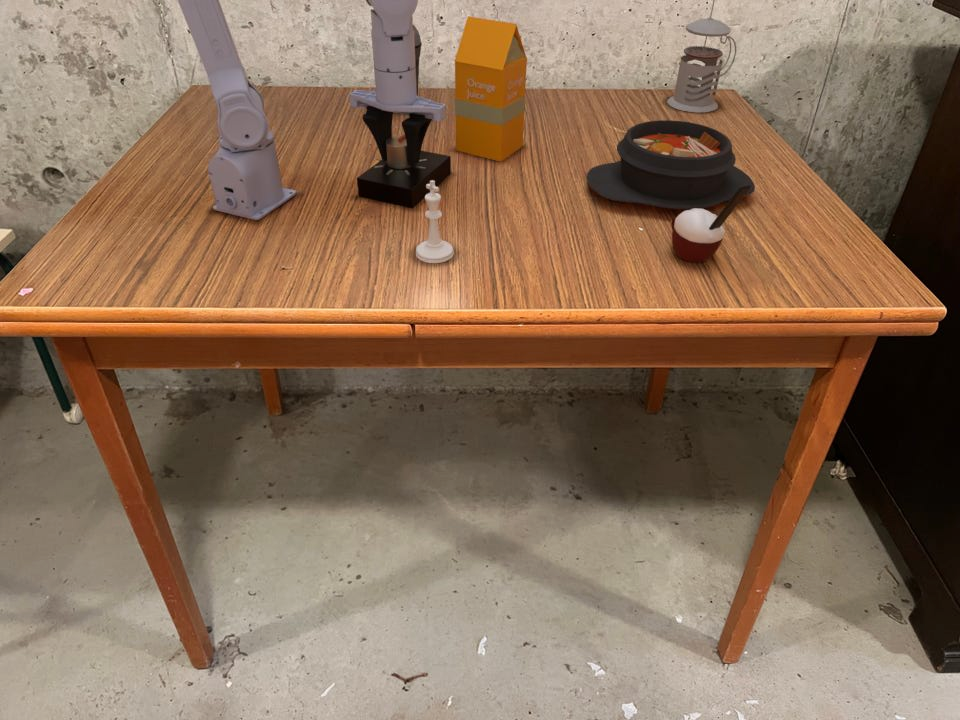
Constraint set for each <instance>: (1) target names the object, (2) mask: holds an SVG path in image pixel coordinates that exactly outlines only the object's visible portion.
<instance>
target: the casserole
mask: <svg viewBox="0 0 960 720" xmlns="http://www.w3.org/2000/svg"><path fill="white" fill-rule="evenodd" d="M616 152H617V154H618V156H619V158H620V160H618V161H614V162H609V163H602V164H599V165H595V166H593V167H591V168H590V169H589V170H588V172H587V174H586V181H587V183H588V185H589V187H590V188H591V189H592V190H593V191H594V192H596V193H597V194H598V195H600V196H602V197H604V198H606V199H607V200H611V201H615V202H621V203H628V204H629V203H630V204H642V205H646V206H653V207H657V208H664V209H672V210H691V209H694V208H698V209H704V208H709V207H713V206H717V205H719V204H722V203H725V202H727V201H730V199H731V198H732V197H733V195H734V194H735V193H736V191H737V190H738V189H739V187H741V186H745V185H750V186H751V187H750V189H749V190H748V192H747V193H746V194H745V196H750V195H751V194H753V193H754V192H755V189H756V186H755V183H754V181H753V180H752V178H751V177H750V176H749V175H748V174H747V173H746V172H744V171H743V170H742V169H740V168H738V167H737V166H735V164H736V161H737V158H736V154H735V153H734V151H733V145H732V141H731V140H730V138H729V137H728V136H727V135H726V134H724V133H722V132H721V131H719V130H717V129H715V128H712V127H710V126H706V125H703V124H700V123H694V122H691V121H683V120H672V119H671V120H663V119H661V120H650V121H644V122H640V123H637V124H635V125H632V126H631V127H630V128H628V130H627V131H626V132H625V134H624V137H623V138H622V139H621V140H619V142H618V143H617V145H616ZM745 196H744V197H745Z"/></svg>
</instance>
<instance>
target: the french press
mask: <svg viewBox="0 0 960 720" xmlns="http://www.w3.org/2000/svg"><path fill="white" fill-rule="evenodd" d="M715 1H716V0H713V1H712V5H711V10H710V15H709V17H707V18H699V19H696V20H693V21H691V22H690V23H688V24H686V26H685V30H686V31H687V32H688V33H690V34H693V35H696V36H700V37H701V36H702V37H705V40H704V45H701V46H700V45H693V46H687V47H686V48H684V49H683V54H684V55H682V56H680V61H679V66H678V71H677V76H676V82H675V87H674V92H673V95H672V96H670V97H669V98H668V99H667V101H666V102H667V104H668V105H669V106H670V107H672V108H674V109H676V110H678V111H679V110H680V111H683V112H688V113H689V112H690V113H709V112H714V111H716V110H718V108H719V104H718V102H717V101H716V100H715V98H716V93H717V89H718V84H719V79H720V78H721V77H723V76H724V75H726V74H727V73H728V72H729V70H731V68H732V66H733V64H734V62H735V58H736V55H737V43H736V41H735V39H734V37H731V35H730V33H731V30H732V29H731V28H730V27H729V26H728V25H727V24H726V23H724V22H723V21H721V20H718V19H715V18H713V17H712V14H713V10H714V6H715ZM708 37H711V38H713V37H714V38H717V37H719V38H720V39H719V42H720V43H721V44H723V45H726V43H727V40H728V42H729V52H728V56H727V59H726V61H725V63H724V65H723V60H722V59H720V58H722V57H723V55H724V52H723V51H722V50H721V49H720V48H715V47H711V46H706V44H707V39H708ZM723 37H726V38H725V39H724V41H722V40H723ZM732 43H733V45H734V54H733V58H732V61H731V63H730V65H729V66H728V68H727V70H725V71H724V72H722V70H723V69H724V68H725V67H726V65H727V64H728V62H729V60H730V58H731V53H732ZM718 60H719V63H718ZM692 61H699V62H700V63H701V62H702V63H703V64H704V65H701V64H699V63H695V62H693V63H688V62H692ZM699 78H701V79H699ZM712 87H713V88H712ZM711 93H712V94H711Z"/></svg>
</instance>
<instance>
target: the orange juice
mask: <svg viewBox="0 0 960 720" xmlns="http://www.w3.org/2000/svg"><path fill="white" fill-rule="evenodd" d="M517 25H518V24H517V23H514V22H507V21H501V20H494V19H489V18H488V19H487V18H482V17H475V16H468V15H467V17H466V21H465V24H464V28H463V31H462V35H461V38H460V41H459V44H458V48H457V51H456V55H455V58H454V116H455V151H457V152H460V153H465V154H468V155H472V156H476V157H480V158H484V159H488V160H493V161H496V162H500V163H501V162H502V161H504V160H505V159H507V158H509V157H510V156H511V155H513V154H514V153H516V152H518V150H520V149H521V148H523V144H524V143H523V141H524V140H523V139H524V124H525V122H524V121H525V107H526V86H527V85H526V83H527V65H528V64H527V63H528V56H527V54H526V52H525V48H524V45H523V41H522V38H521V35H520V32H519V29H518V26H517Z"/></svg>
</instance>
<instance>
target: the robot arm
mask: <svg viewBox="0 0 960 720" xmlns="http://www.w3.org/2000/svg"><path fill="white" fill-rule="evenodd" d="M177 2H178V4H179V7H180V10H181V12H182V14H183V18H184V20H185V22H186V24H187V27H188V30H189V32H190V34H191V37H192V40H193V42H194V45H195V48H196V50H197V52H198V55H199V58H200V61H201V63H202V65H203V67H204V70H205V73H206V75H207V78H208V83H209V86H210V89H211V92H212V96H213V99H214V101H215V105H216V109H217V129H218V132H219V136H218V142H219V147H218V150H217V152H216V153H215V155H214V156H212V157H211V158H210V159H209V161H208V164H207V172H208V177H209V181H210V184H211V188H212V192H213V196H214V200H215V204H214V205H213V206H212V209H213V211H217V212H220V213H224V214H229V215H232V216H237V217H241V218H246V219H248V220H249V219H250V220H254V221H259V220H261V219H262V218H264V217H266V216H267V215H269V214H270V213H272V212H273V211H274V210H275V209H277V208H279V207H281V206H282V205H283V204H285V203H286V202H287V201H289V200H290V199H292V198H294V196H296V195H297V194H298V192H297V190H295V189H290V188H286V187H284V186H283V181H282V175H281V170H280V165H279V164H280V163H279V159H278V154H277V153H278V152H277V148H276V142H275V136H274V133H273V132H272V131H271V130H270V129H269V128H270V125H269V120H268V118H267V115H266V113H265V102H264V99H263V96H262V94H261V92H260V91H259V90H258V89H257V88H256V87H255V86H254V85H253V84H252V83H251V81H250V80H249V77H248V75H247V72H246V69H245V67H244V65H243V62H242V60H241V58H240V55H239V52H238V50H237V49H238V48H237V47H236V44H235V41H234V38H233V35H232V33H231V30H230V27H229V25H228V21H227V18H226V16H225V13H224V10H223V7H222V5H221V2H220V0H177ZM365 2H366V3H367V4H368V6H370V7H372V8H373V9H370V21H371V31H370V34H371V35H370V37H371V44H372V45H371V48H372V60H373V73H374V85H375V90H361V89H355V90H353V91H352V92H349V103H350V108H354V109H355V108H356V109H357V108H366V110H365V113H364V114H362V121H363V123H364V124H365V125H366V127H367V129H368V130H369V132H370V133H371V135H372V138H373V139H374V141H375V143H376V146H377V149H378V152H379V155H380V157H381V158H380V159H382V160H383V161H387V151H386V140H387V139H389V138H391V137H393V119H394V118H393V117H394V113H396V114H401V115H405V116H408V117H407V118H405V119H404V120H403V121H401V127H402V129H403V133H404V135H405V137H406V143H407V155H408V163H409V166H414V165H416V164H417V163H418V162H419V159H420V152H421V151H422V147H423V143H424V141H425V137H426V134H427V132H428V130H429V127H430V125H431V123H432V121H434V122H437V123H441V122H442V121H444V120H445V119H446V118H447V104H446V103H440V102H437V101H433V100H431V99H428V98H426V97H423V96H420V95H418V96H417V89H416V67H415V43H414V30H413V25H414V23H413V21H414V19H413V18H414V17H413V15H414V13H415V11H416V9H417V7H418V2H419V0H365Z"/></svg>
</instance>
